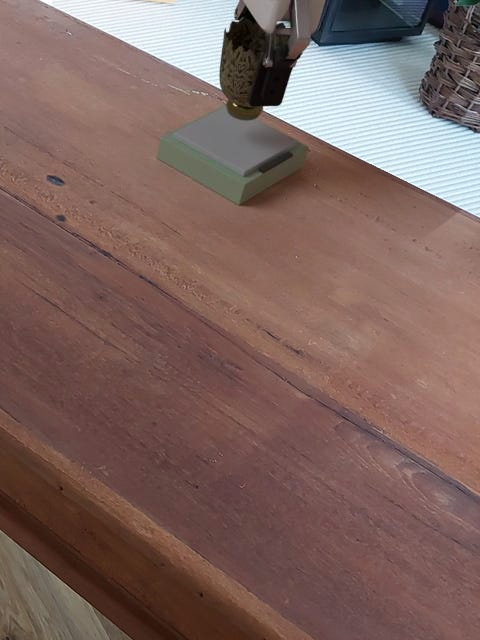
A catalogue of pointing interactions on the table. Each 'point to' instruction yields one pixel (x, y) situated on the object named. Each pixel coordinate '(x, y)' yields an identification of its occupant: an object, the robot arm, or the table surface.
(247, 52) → the cup
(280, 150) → the scale
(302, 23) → the robot arm
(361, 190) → the table surface
